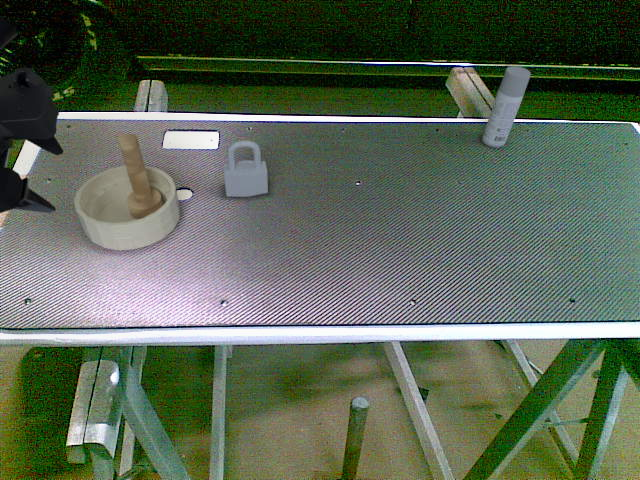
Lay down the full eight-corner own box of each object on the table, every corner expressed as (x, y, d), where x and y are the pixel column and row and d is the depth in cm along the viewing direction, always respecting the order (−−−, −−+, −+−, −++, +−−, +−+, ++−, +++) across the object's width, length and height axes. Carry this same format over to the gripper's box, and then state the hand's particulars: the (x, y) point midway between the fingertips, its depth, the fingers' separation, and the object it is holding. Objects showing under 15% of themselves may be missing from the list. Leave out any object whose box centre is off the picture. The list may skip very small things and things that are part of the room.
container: (507, 139, 99) (534, 70, 88) (501, 150, 96) (528, 79, 85) (485, 132, 100) (509, 63, 90) (478, 142, 97) (502, 72, 87)
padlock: (265, 181, 84) (263, 132, 77) (268, 195, 82) (267, 146, 75) (225, 184, 83) (219, 135, 76) (226, 199, 80) (221, 149, 73)
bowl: (93, 264, 69) (82, 237, 65) (79, 204, 77) (68, 177, 73) (191, 236, 74) (186, 209, 70) (167, 183, 82) (162, 157, 79)
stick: (132, 223, 74) (110, 151, 65) (127, 203, 77) (106, 131, 68) (166, 216, 76) (149, 144, 66) (160, 196, 79) (143, 125, 70)
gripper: (-11, 146, 42) (106, 225, 56) (20, 12, 51) (114, 108, 64) (-110, 182, 44) (26, 250, 58) (-64, 47, 53) (45, 133, 66)
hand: (56, 181), depth 61 cm, fingers open, 9 cm apart
